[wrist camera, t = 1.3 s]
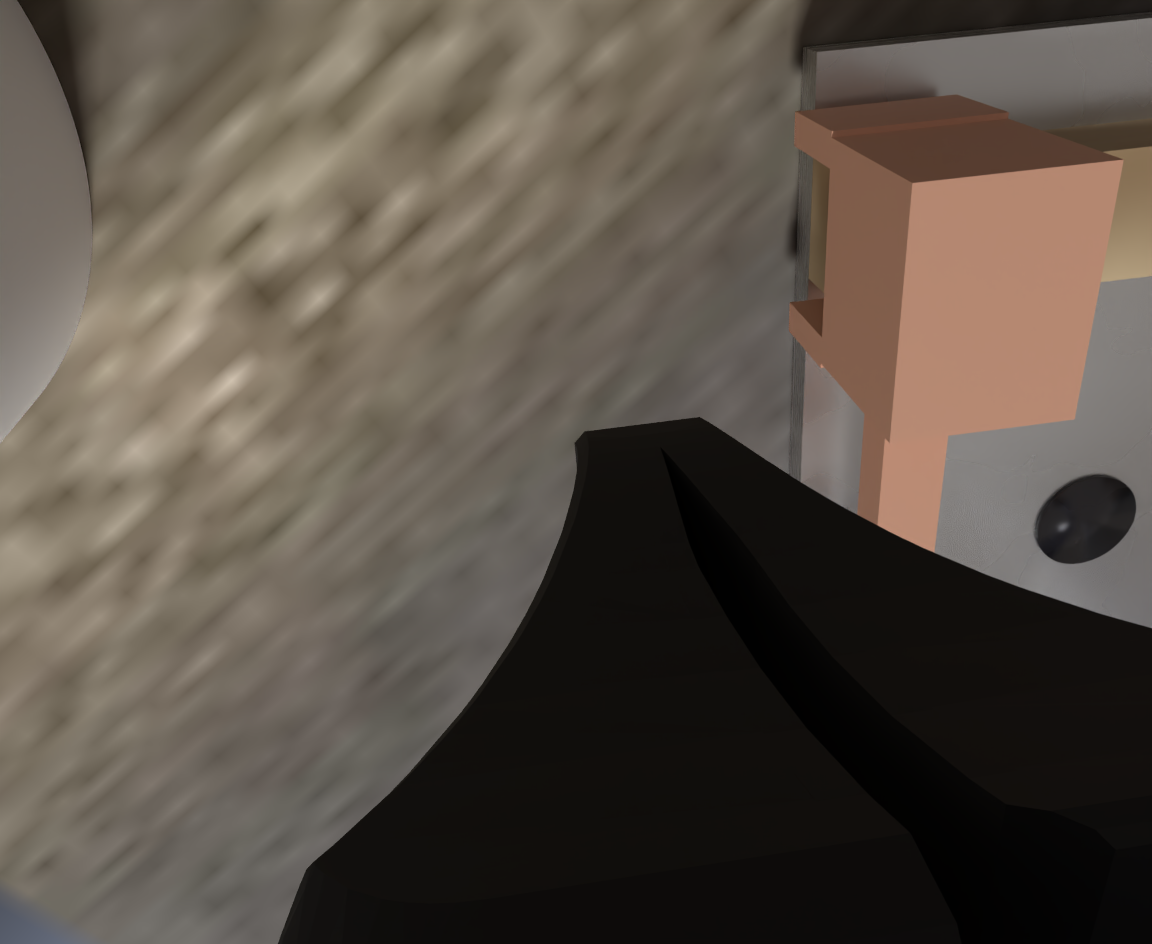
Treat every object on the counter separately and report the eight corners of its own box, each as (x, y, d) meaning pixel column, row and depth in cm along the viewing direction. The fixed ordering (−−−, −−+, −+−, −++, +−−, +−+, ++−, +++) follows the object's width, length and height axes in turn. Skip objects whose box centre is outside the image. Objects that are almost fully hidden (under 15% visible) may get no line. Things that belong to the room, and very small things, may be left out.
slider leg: (906, 568, 23) (1017, 721, 19) (781, 585, 23) (862, 744, 19) (956, 94, 18) (1125, 151, 14) (795, 111, 18) (913, 175, 13)
